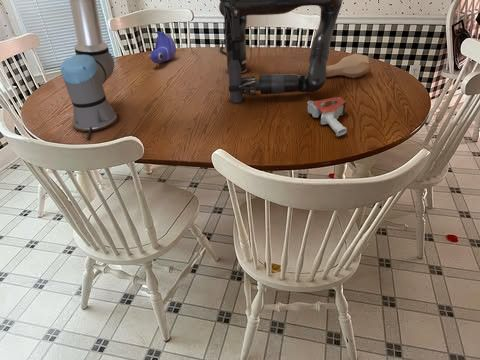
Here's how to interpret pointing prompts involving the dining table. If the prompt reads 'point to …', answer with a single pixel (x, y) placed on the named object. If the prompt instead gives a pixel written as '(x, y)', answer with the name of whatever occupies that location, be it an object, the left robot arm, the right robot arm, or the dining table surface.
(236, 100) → the bottle
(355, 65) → the squash
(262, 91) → the right robot arm
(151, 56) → the toy
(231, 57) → the cap
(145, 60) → the dining table surface
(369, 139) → the dining table surface
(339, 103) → the tape dispenser
